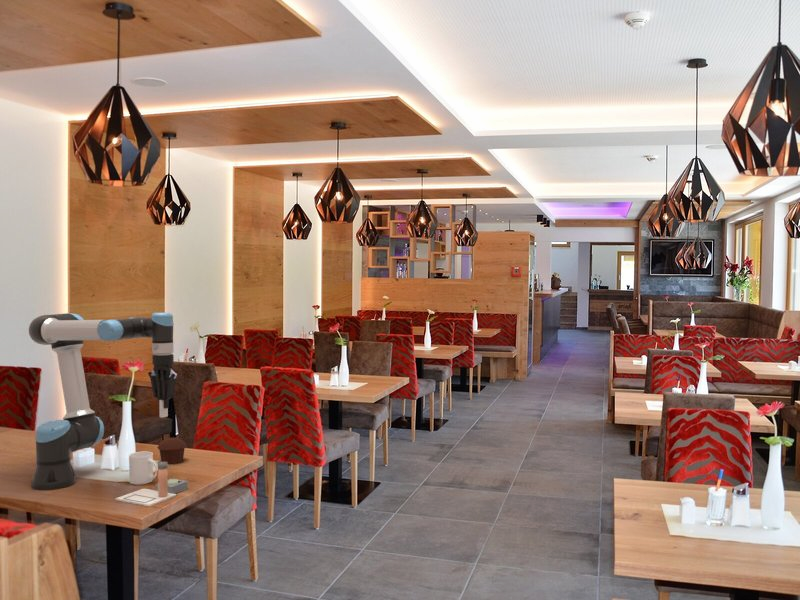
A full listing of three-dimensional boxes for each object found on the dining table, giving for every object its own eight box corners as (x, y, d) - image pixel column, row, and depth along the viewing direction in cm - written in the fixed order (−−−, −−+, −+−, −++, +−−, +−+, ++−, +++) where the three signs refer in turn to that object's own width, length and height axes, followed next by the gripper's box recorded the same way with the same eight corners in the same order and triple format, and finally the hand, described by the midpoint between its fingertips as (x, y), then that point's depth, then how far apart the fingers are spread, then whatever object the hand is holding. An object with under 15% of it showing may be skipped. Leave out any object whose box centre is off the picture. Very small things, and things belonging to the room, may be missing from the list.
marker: (156, 496, 251) (155, 463, 251) (163, 494, 254) (162, 461, 254) (162, 498, 250) (162, 464, 249) (169, 495, 253) (169, 462, 252)
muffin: (186, 457, 307) (186, 434, 307) (187, 463, 297) (186, 440, 297) (157, 459, 304) (157, 436, 303) (157, 466, 293) (156, 442, 293)
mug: (148, 487, 264) (148, 458, 264) (124, 483, 269) (124, 455, 269) (165, 481, 272) (164, 453, 272) (141, 477, 277) (140, 450, 277)
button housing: (155, 492, 258) (155, 484, 258) (171, 486, 266) (171, 478, 266) (172, 495, 255) (172, 486, 255) (187, 489, 262) (187, 481, 262)
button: (162, 489, 259) (162, 481, 259) (171, 486, 263) (171, 478, 263) (172, 491, 257) (171, 482, 257) (180, 487, 261) (180, 479, 261)
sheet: (115, 500, 249) (115, 498, 249) (143, 489, 261) (143, 488, 261) (149, 506, 242) (149, 504, 242) (176, 495, 254) (176, 494, 254)
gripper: (142, 354, 263) (143, 417, 264) (168, 355, 257) (169, 420, 258) (157, 352, 270) (158, 413, 270) (183, 353, 264) (184, 416, 265)
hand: (163, 416), depth 264 cm, fingers closed
